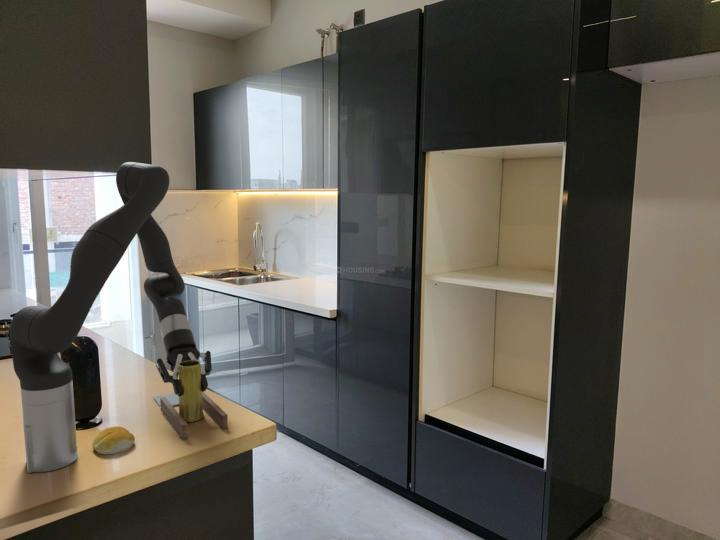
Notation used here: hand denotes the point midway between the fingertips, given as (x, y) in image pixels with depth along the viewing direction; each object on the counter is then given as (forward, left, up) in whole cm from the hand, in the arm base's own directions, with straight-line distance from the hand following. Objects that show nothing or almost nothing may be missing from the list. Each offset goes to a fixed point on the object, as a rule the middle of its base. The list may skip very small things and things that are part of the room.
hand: (192, 392), depth 129 cm
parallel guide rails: (0, +1, -7) cm, 7 cm away
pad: (0, +16, -7) cm, 18 cm away
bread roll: (-19, -4, -8) cm, 21 cm away
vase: (0, +2, -7) cm, 8 cm away
